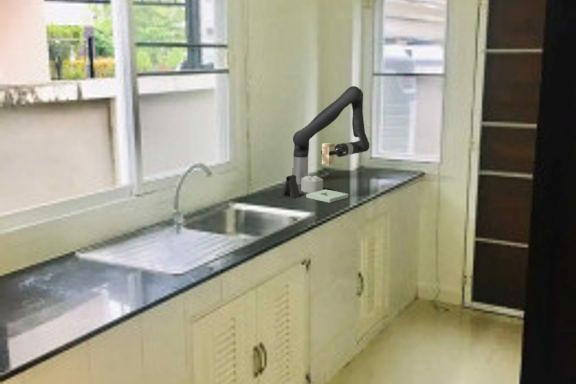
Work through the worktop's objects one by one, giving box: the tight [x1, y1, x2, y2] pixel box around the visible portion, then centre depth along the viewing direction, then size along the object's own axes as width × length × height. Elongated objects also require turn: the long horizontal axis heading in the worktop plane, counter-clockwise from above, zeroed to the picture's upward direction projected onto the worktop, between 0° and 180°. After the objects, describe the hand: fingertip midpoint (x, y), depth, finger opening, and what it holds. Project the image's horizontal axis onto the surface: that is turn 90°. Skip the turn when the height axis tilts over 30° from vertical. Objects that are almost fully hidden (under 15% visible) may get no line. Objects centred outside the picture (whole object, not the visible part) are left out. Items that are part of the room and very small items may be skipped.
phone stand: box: [281, 174, 301, 199], centre depth 345 cm, size 9×6×12 cm, turn 56°
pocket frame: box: [305, 189, 349, 203], centre depth 343 cm, size 17×17×2 cm
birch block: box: [321, 142, 336, 167], centre depth 338 cm, size 5×5×12 cm
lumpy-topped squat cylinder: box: [300, 175, 324, 194], centre depth 360 cm, size 10×13×9 cm
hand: (325, 153), depth 336 cm, fingers closed on birch block, 5 cm apart
